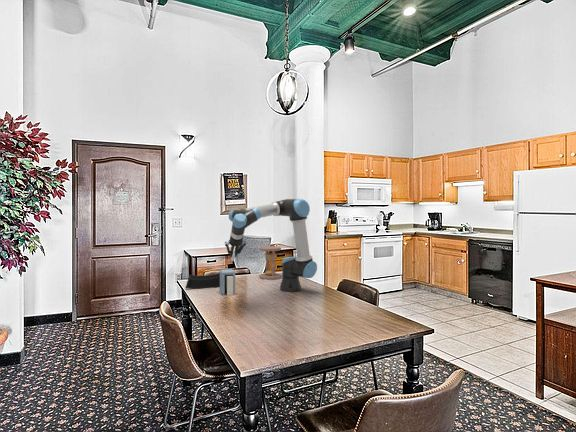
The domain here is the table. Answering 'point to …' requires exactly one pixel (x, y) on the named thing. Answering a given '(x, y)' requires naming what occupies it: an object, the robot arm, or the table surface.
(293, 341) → the table surface
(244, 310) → the table surface
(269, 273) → the hourglass
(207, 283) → the magazine
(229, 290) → the tile
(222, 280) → the housing
